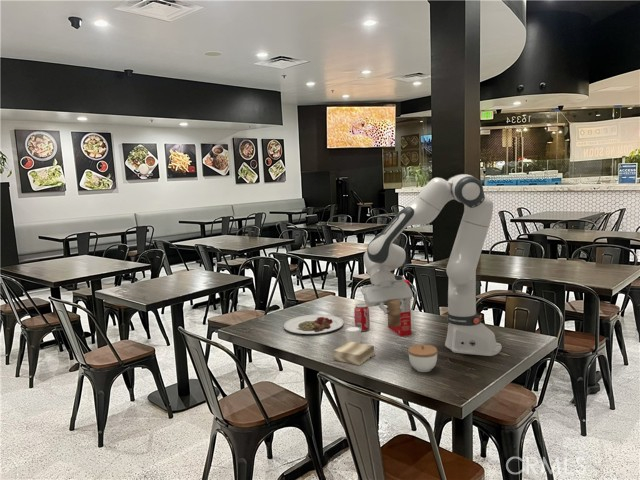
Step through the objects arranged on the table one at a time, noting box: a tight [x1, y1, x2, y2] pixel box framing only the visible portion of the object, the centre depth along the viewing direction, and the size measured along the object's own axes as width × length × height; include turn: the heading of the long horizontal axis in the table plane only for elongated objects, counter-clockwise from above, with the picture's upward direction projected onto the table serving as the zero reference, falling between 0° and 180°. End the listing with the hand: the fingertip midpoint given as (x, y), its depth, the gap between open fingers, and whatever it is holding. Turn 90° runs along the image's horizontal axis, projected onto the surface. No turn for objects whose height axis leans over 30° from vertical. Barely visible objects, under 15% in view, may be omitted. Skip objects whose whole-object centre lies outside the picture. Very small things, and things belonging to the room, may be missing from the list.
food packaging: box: [387, 278, 412, 337], centre depth 222 cm, size 15×5×25 cm, turn 14°
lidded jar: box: [407, 343, 438, 373], centre depth 179 cm, size 11×11×9 cm
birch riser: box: [333, 341, 375, 366], centre depth 194 cm, size 12×12×4 cm
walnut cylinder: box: [386, 299, 401, 327], centre depth 189 cm, size 5×5×10 cm
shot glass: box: [344, 326, 362, 343], centre depth 209 cm, size 7×7×7 cm
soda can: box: [353, 303, 371, 332], centre depth 228 cm, size 7×7×12 cm
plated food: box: [283, 313, 345, 335], centre depth 237 cm, size 30×30×3 cm
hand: (394, 312), depth 188 cm, fingers closed on walnut cylinder, 5 cm apart
